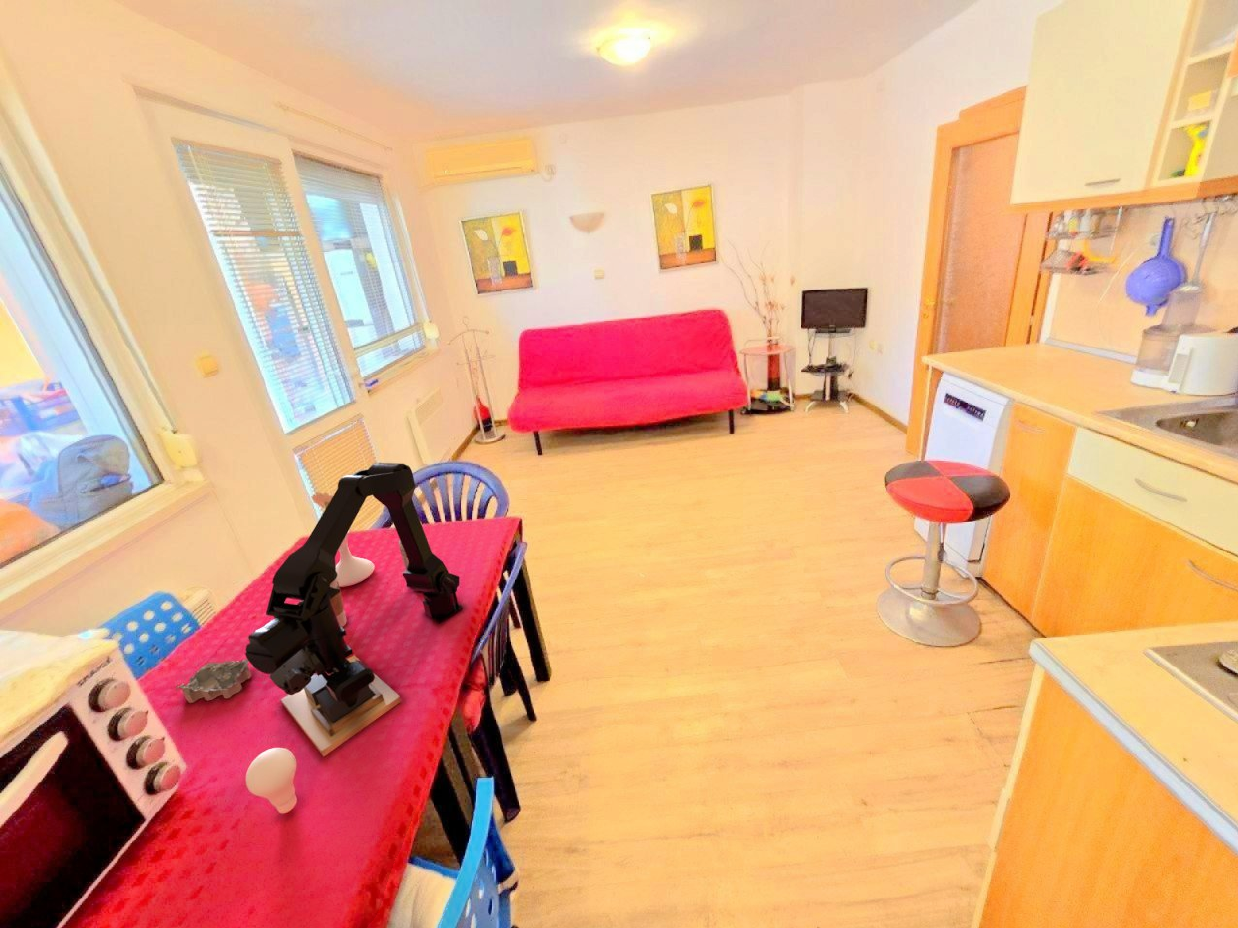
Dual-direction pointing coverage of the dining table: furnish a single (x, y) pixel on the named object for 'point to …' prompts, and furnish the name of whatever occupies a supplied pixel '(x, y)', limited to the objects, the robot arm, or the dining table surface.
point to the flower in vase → (346, 555)
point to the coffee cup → (338, 602)
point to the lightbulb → (274, 778)
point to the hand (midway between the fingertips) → (345, 698)
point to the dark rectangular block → (341, 704)
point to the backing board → (334, 734)
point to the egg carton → (216, 680)
